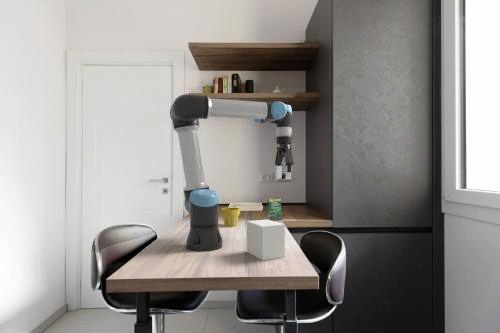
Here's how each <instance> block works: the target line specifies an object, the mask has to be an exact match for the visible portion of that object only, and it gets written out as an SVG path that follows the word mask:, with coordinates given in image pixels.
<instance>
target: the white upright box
mask: <svg viewBox="0 0 500 333" xmlns="http://www.w3.org/2000/svg"><path fill="white" fill-rule="evenodd" d="M285 228H286V225H285V224H283V223H280V222H277V221H275V220H268V219H267V218H266V219H259V220H258V219H256V220H247V221H246V253H249V254H250V255H252V256H254V257H255V258H258V259H260V260H261V261H267V260H274V259H280V258H281V259H282V258H286V252H285V251H286V245H285V244H286V241H285V240H286V235H285V234H286V232H285Z"/></svg>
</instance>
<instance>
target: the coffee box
mask: <svg viewBox="0 0 500 333" xmlns="http://www.w3.org/2000/svg"><path fill="white" fill-rule="evenodd" d="M267 212H268V214H267V216H268V220H271V221H280V220H279V219H281V220H282V199H281V198H269V199H267Z"/></svg>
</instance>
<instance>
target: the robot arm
mask: <svg viewBox="0 0 500 333" xmlns="http://www.w3.org/2000/svg"><path fill="white" fill-rule="evenodd" d="M169 116H170V119H171V122H172V128H173V131H175V132H176V133H177V136H178V142H179V149H180V155H181V162H182V168H183V175H184V179H185V180H184V181H185V186H184V188H183V194H184V195H183V196H184V208H185V210H186V212H188V214H189V216H190V217H189V220H190V221H189V222H190V223H189V225H190V226H189V227H190V228H189V232H188V234H187V238H186V242H185V248H186V249H187V250H190V251H198V252H205V251H209V252H210V251H213V250H219V249H221V248H223V241H224V240H223V237H222V236H221V232H220V229H219V199H220V198H219V195H218V194H219V193H218V192H217V191H215V190H213V189H210V185H209V184H207V183H206V181H205V175H204V174H205V173H204V168H203V160H202V156H201V149H200V148H201V147H200V142H199V136H198V130H199V128H200V120H201V119H202V120H207V119H209V118H210V117H211V118H229V119H230V118H231V119H232V118H233V119H234V118H235V119H253V121H254V123H257V124H267V125H268V124H270V125H276V128H275V132H276V133H275V135H276V137H275V138H276V139H275V140H276V141H275V142H276V144H277V145H279V146H277V147H276V153H275V160H274V165H275V170H276V172H275V174H276V176H275V177H276V179H282V176H283V175H282V174H283V173H282V172H283V171H282V170H283V160H284V161H285V166H284V167H285V180H292V168H293V167H292V166H293V165H294V155H293V151H292V145H291V144H292V132H293V129H292V124H293V123H292V121H293V119H292V118H293V117H292V116H293V110H292V106H291V105H290V104H285V103H284V101H283V102H282V101H274V102H265V101H251V100H235V99H219V98H210V97H209V96H208V95H203V94H202V95H200V94H190V93H187V94H186V93H184V94H181V95H179V96H177V97H176V98H175V99H174V101H173V103H172V105H171V106H170V109H169Z"/></svg>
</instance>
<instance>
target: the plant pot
mask: <svg viewBox="0 0 500 333" xmlns="http://www.w3.org/2000/svg"><path fill="white" fill-rule="evenodd" d="M221 215H222V217H223V218H222V219H223V222H224V226H225V227H226V226H227V228H228V227H229V228H232V227H233V228H234V227H237V226H238V222H239V221H238V220H239V216H240V215H241V208H239V207H234V206H233V207H231V206H230V207H229V206H228V207H222V208H221Z"/></svg>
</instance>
